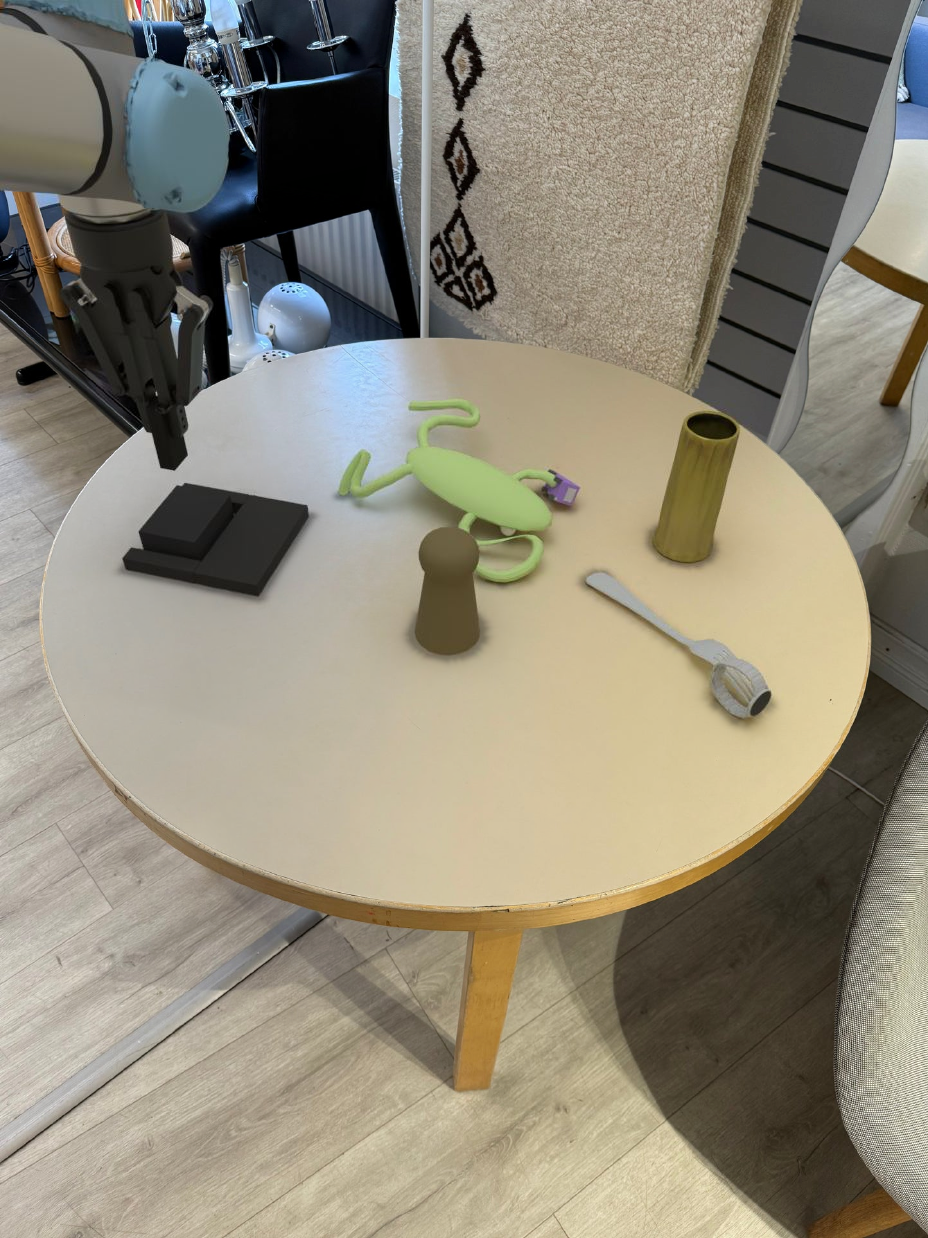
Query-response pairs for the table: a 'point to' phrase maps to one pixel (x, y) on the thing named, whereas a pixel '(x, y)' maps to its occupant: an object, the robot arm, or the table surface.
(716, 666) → the ring
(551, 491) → the figurine
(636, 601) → the fork
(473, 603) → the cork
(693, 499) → the vase
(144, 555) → the black pad
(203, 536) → the charcoal pad
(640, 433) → the table surface
